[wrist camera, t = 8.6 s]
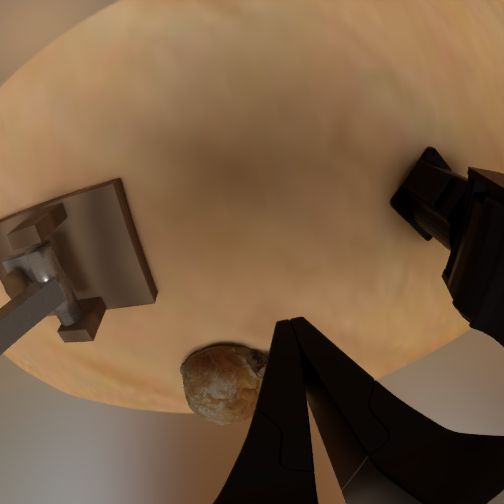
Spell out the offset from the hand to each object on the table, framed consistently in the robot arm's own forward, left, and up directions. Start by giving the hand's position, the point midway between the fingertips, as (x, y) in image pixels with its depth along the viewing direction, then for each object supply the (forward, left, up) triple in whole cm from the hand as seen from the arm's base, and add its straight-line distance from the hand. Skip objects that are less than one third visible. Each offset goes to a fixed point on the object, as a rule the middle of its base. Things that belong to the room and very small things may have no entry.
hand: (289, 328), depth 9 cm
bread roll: (-9, +17, -13) cm, 23 cm away
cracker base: (+12, +12, -13) cm, 21 cm away
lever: (+10, +11, -10) cm, 18 cm away
